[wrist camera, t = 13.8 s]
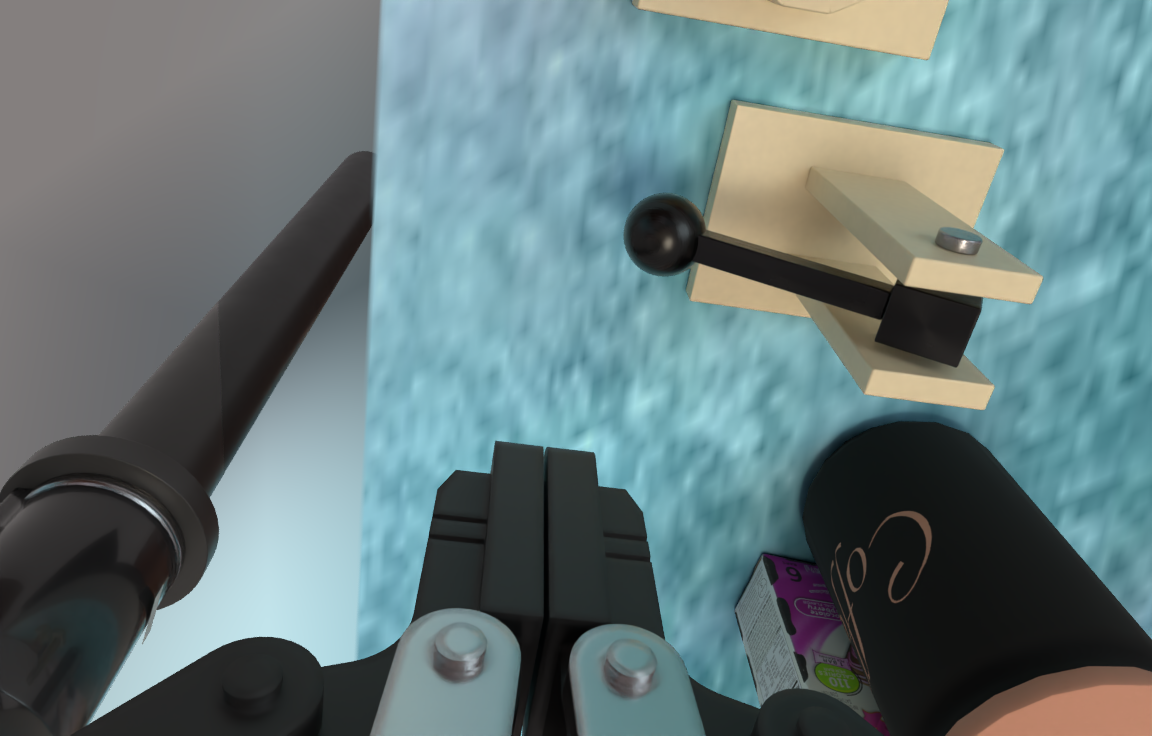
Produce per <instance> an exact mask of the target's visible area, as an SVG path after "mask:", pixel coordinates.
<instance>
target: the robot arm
mask: <svg viewBox="0 0 1152 736" xmlns="http://www.w3.org/2000/svg"><path fill="white" fill-rule="evenodd" d="M184 559H185V542H184V538H183V534H182V532H181V529H180V527H179V525H178V523H177V522H176V520H175V519H174V517H173V516H172V515H171V513H170V512H169V511H168V510H167V509H166V508H165V507H164V505H162V504H161V503H160V502H159V501H158V500H157V499H155V498H154V497H153V496H152V495H150V494H149V493H147V492H146V491H144V490H142V489H140V488H139V487H137V486H135V485H133V484H130V483H128V482H126V481H123V480H120V479H117V478H114V477H110V476H105V475H100V474H91V473H74V474H66V475H61V476H57V477H54V478H51V479H49V480H47V481H45V482H43V483H41V484H39V485H38V486H36V487H35V488H30V489H27V488H15V489H14V490H13V491H12V492H11V493H10V494H9V495H8V496H7V497H6V498H5V499H4V500H3V501H2V502H1V504H0V736H520V735H521V730H522V736H884V735H883V734H882V733H881V732H879V731H878V730H877V729H876V728H875V727H873V726H872V725H871V724H870V723H869V722H867V721H866V720H865V719H864V718H863V717H861V716H860V715H859V714H858V713H856V712H855V711H854V710H853V709H851V708H850V707H849V706H847V705H846V704H844V703H843V702H841V701H839V700H837V699H836V698H833V697H831V696H829V695H827V694H824V693H821V692H818V691H815V690H809V689H801V688H792V689H785V690H782V691H778V692H776V693H774V694H773V695H771V696H770V697H769V698H768V699H766V700H765V702H764V703H763V705H762V706H761V708H760V709H758V708H756V707H753V706H750V705H748V704H745V703H742V702H739V701H737V700H734V699H731V698H729V697H726V696H723V695H721V694H718V693H716V692H714V691H711V690H710V689H708V688H706V687H704V686H702V685H701V684H699V683H698V682H697V681H695V680H694V679H692V678H691V677H690V676H689V675H688V672H687V669H686V667H685V664H684V662H683V660H682V658H681V657H680V655H679V654H678V653H677V651H676V650H675V649H674V648H673V647H672V646H671V645H670V644H669V643H668V642H666V641H665V637H664V631H663V626H662V620H661V614H660V608H659V603H658V597H657V591H656V585H655V580H654V574H653V568H652V563H651V562H650V551H649V545H648V542H647V534H646V528H645V522H644V517H643V512H642V511H641V509H640V508H639V507H638V505H637V504H636V503H635V501H634V500H633V499H632V498H631V496H630V495H629V494H628V492H627V491H626V490H625V489H617V488H609V487H600V486H598V478H597V468H596V458H595V453H594V452H585V451H577V450H569V449H560V448H552V447H546V450H545V454H544V452H543V447H542V446H534V445H526V444H517V443H509V442H501V441H495V446H494V453H493V460H492V467H491V474H487V473H478V472H469V471H461V470H455V471H454V473H453V474H452V475H451V476H450V477H449V478H448V479H447V480H446V481H445V482H444V483H443V484H442V485H441V486H440V487H439V488H438V490H437V495H436V500H435V505H434V511H433V517H432V521H431V526H430V531H429V538H428V542H427V547H426V552H425V557H424V563H423V568H422V573H421V578H420V584H419V589H418V594H417V599H416V604H415V610H414V614H413V618H412V621H411V623H410V625H409V627H408V628H407V629H406V630H405V632H404V633H403V635H402V636H401V637H400V638H399V639H398V640H397V641H396V642H395V643H394V644H392V645H391V646H390V647H388V648H387V649H385V650H383V651H381V652H379V653H377V654H375V655H373V656H370V657H367V658H365V659H361V660H357V661H353V662H347V663H341V664H336V665H330V666H324V667H321V666H320V664H319V662H318V661H317V659H316V658H315V657H314V656H313V655H312V654H311V653H310V652H309V651H308V650H307V649H305V648H304V647H302V646H300V645H299V644H296V643H294V642H292V641H288V640H285V639H281V638H274V637H254V638H247V639H242V640H238V641H234V642H231V643H229V644H226V645H223V646H221V647H220V648H217V649H216V650H214V651H212V652H210V653H208V654H207V655H205V656H203V657H202V658H200V659H198V660H196V661H195V662H193V663H191V664H190V665H188V666H186V667H185V668H183V669H181V670H180V671H178V672H176V673H175V674H173V675H171V676H170V677H168V678H166V679H164V680H163V681H161V682H159V683H158V684H156V685H154V686H153V687H151V688H149V689H148V690H146V691H144V692H142V693H141V694H139V695H137V696H136V697H134V698H132V699H131V700H129V701H127V702H126V703H124V704H122V705H121V706H119V707H117V708H115V709H114V710H112V711H111V712H109V713H107V714H105V715H104V716H102V717H100V718H98V719H97V720H95V721H93V722H92V723H90V722H91V721H92V719H93V717H94V715H95V714H96V712H97V710H98V708H99V707H100V705H101V703H102V702H103V700H104V698H105V696H106V695H107V693H108V691H109V690H110V688H111V686H112V684H113V682H114V681H115V679H116V677H117V676H118V674H119V672H120V670H121V669H122V667H123V665H124V664H125V662H126V660H127V658H128V657H129V655H130V653H131V651H132V650H133V648H134V646H135V645H136V643H137V641H138V640H139V638H140V636H141V634H142V633H143V631H144V629H145V627H146V626H147V624H148V626H147V629H146V633H145V637H144V639H143V642H144V641H145V639H146V637H147V635H148V634H149V632H150V629H151V626H152V623H153V619H154V616H155V612H156V609H157V607H158V605H159V604H160V602H161V600H162V598H164V596H165V595H166V593H167V591H168V590H169V588H170V587H171V586H172V584H173V583H174V581H175V579H176V578H177V576H178V574H179V572H180V571H181V568H182V566H183V563H184ZM142 644H143V643H142ZM522 725H523V729H522Z"/></svg>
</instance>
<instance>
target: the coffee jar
mask: <svg viewBox="0 0 1152 736" xmlns="http://www.w3.org/2000/svg"><path fill="white" fill-rule="evenodd" d="M803 523H804V529H805V535H806V540H807V543H808V545H809V548H810V550H811V552H812V555H813V557H814V559H815V561H816V564H817V566H818V568H819V571H820V573H821V575H822V578H823V580H824V582H825V585H826V587H827V589H828V592H829V594H830V596H831V599H832V601H833V603H834V606H835V608H836V610H837V613H838V615H839V617H840V620H841V622H842V624H843V627H844V629H845V631H846V634H847V636H848V638H849V641H850V643H851V645H852V647H853V650H854V652H855V654H856V657H857V659H858V661H859V664H860V666H861V668H862V671H863V673H864V675H865V678H866V680H867V682H868V685H869V687H870V689H871V692H872V694H873V696H874V699H875V701H876V703H877V706H878V708H879V710H880V713H881V715H882V717H883V720H884V722H885V724H886V726H887V729H888V731H889V733H890V736H1152V639H1151V638H1150V637H1149V636H1148V635H1147V634H1146V632H1145V631H1144V630H1143V629H1142V628H1141V627H1140V625H1139V624H1138V623H1137V622H1136V621H1135V620H1134V618H1133V617H1132V616H1131V615H1130V614H1129V613H1128V611H1127V610H1126V609H1125V608H1124V607H1123V606H1122V605H1121V603H1120V602H1119V601H1118V600H1117V599H1116V598H1115V596H1114V595H1113V594H1112V593H1111V592H1110V591H1109V589H1108V588H1107V587H1106V586H1105V585H1104V584H1103V582H1102V581H1101V580H1100V579H1099V578H1098V577H1097V575H1096V574H1095V573H1094V572H1093V571H1092V570H1091V568H1090V567H1089V566H1088V565H1087V564H1086V563H1085V561H1084V560H1083V559H1082V558H1081V557H1080V556H1079V555H1078V553H1077V552H1076V551H1075V550H1074V549H1073V548H1072V546H1071V545H1070V544H1069V543H1068V542H1067V541H1066V539H1065V538H1064V537H1063V536H1062V535H1061V534H1060V532H1059V531H1058V530H1057V529H1056V528H1055V527H1054V525H1053V524H1052V523H1051V522H1050V521H1049V520H1048V518H1047V517H1046V516H1045V515H1044V514H1043V513H1042V511H1041V510H1040V509H1039V508H1038V507H1037V506H1036V505H1035V503H1034V502H1033V501H1032V500H1031V499H1030V498H1029V496H1028V495H1027V494H1026V493H1025V492H1024V491H1023V489H1022V488H1021V487H1020V486H1019V485H1018V484H1017V482H1016V481H1015V480H1014V479H1013V478H1012V477H1011V475H1010V474H1009V473H1008V472H1007V471H1006V470H1005V468H1004V467H1003V466H1002V465H1001V464H1000V463H999V461H998V460H997V459H996V458H995V457H994V456H993V455H992V453H991V452H990V451H989V450H988V449H987V448H986V447H984V446H983V445H982V444H981V443H980V442H978V441H977V440H976V439H975V438H973V437H972V436H971V435H970V434H969V433H966V432H963V431H960V430H957V429H954V428H951V427H948V426H945V425H943V424H939V423H936V422H900V421H899V422H895V423H891V424H887V425H883V426H878V427H874V428H871V429H869V430H867V431H865V432H863V433H861V434H859V435H857V436H855V437H853V438H852V439H850V440H848V441H846V442H845V443H844V444H843V445H842V446H840V447H839V448H838V449H837V450H836V451H835V452H834V453H833V454H832V455H830V456H829V457H828V458H827V459H826V460H825V462H824V464H823V465H822V467H821V468H820V470H819V472H818V473H817V475H816V477H815V478H814V480H813V482H812V483H811V485H810V487H809V489H808V494H807V498H806V503H805V507H804V512H803Z"/></svg>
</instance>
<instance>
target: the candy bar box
mask: <svg viewBox="0 0 1152 736" xmlns="http://www.w3.org/2000/svg"><path fill="white" fill-rule="evenodd" d="M735 614H736V618H737V623H738V626H739V630H740V633H741V637H742V640H743V644H744V648H745V652H746V655H747V658H748V662H749V666H750V669H751V673H752V677H753V680H754V684H755V688H756V691H757V695H758V699H759V703H760V706H762V705H763V703H764V702H765V700H766V699H768V698H769V697H770V696H771V695H773V694H774V693H776V692H778V691H782V690H785V689H792V688H801V689H809V690H815V691H818V692H821V693H824V694H827V695H829V696H831V697H833V698H836V699H837V700H839V701H841V702H843V703H844V704H846V705H847V706H849V707H850V708H851V709H853V710H854V711H855V712H856V713H858V714H859V715H860V716H861V717H863V718H864V719H865V720H866V721H867V722H869V723H870V724H871V725H872V726H873V727H875V728H876V729H877V730H878V731H879V732H881V733H882V734H883V735H884V736H890V733H889V731H888V729H887V726H886V724H885V722H884V720H883V717H882V715H881V713H880V710H879V708H878V706H877V703H876V701H875V699H874V696H873V694H872V692H871V689H870V687H869V685H868V682H867V680H866V678H865V675H864V673H863V671H862V668H861V666H860V664H859V661H858V659H857V657H856V654H855V652H854V650H853V647H852V645H851V643H850V641H849V638H848V636H847V634H846V631H845V629H844V627H843V624H842V622H841V620H840V617H839V615H838V613H837V610H836V608H835V606H834V603H833V601H832V599H831V596H830V594H829V592H828V589H827V587H826V585H825V582H824V580H823V578H822V575H821V573H820V571H819V568H818V566H817V564H811V563H806V562H802V561H797V560H792V559H788V558H782V557H777V556H773V555H768V554H762V556H761V558H760V559H759V561H758V563H757V564H756V567H755V569H754V572H753V575H752V577H751V579H750V581H749V583H748V585H747V587H746V589H745V590H744V592H743V594H742V596H741V598H740V600H739V602H738V605H737V606H736V608H735Z"/></svg>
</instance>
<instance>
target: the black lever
mask: <svg viewBox="0 0 1152 736" xmlns="http://www.w3.org/2000/svg"><path fill="white" fill-rule="evenodd" d="M624 244H625V248H626V251H627V253H628V255H629V257H630V258H631V260H632V261H633V262H634V263H635V265H637V266H638V267H639V268H640V269H641V270H643V271H645V272H647V273H649V274H652V275H656V276H662V277H664V276H673V275H677V274H680V273H682V272H684V271H686V270H687V269H689V268H690V267H691V266H693V265H694V264H695V263H699V264H702V265H705V266H708V267H711V268H715V269H718V270H721V271H724V272H727V273H731V274H734V275H737V276H740V277H743V278H747V279H750V280H753V281H756V282H759V283H763V284H766V285H769V286H772V287H775V288H779V289H782V290H785V291H788V292H791V293H795V294H798V295H801V296H804V297H807V298H811V299H814V300H817V301H820V302H823V303H826V304H830V305H833V306H836V307H839V308H842V309H846V310H849V311H852V312H855V313H858V314H862V315H865V316H868V317H871V318H874V319H878V320H881V323H880V326H879V329H878V331H877V334H876V337H875V342H877V343H881V344H884V345H887V346H890V347H893V348H896V349H899V350H902V351H905V352H908V353H912V354H915V355H918V356H921V357H924V358H927V359H930V360H933V361H936V362H940V363H943V364H946V365H949V366H952V367H955V368H957V367H958V365H959V363H960V360H961V358H962V356H963V353H964V351H965V348H966V346H967V344H968V341H969V339H970V337H971V334H972V332H973V329H974V327H975V325H976V322H977V320H978V318H979V315H980V313H981V310H982V302H983V297H978V296H971V295H964V294H957V293H951V292H944V291H937V290H930V289H923V288H917V287H910V286H905V285H903V284H902V283H901V282H900V281H899V280H898V279H897V280H896V282H895V285H894V286H893V285H891V284H887V283H884V282H881V281H877V280H874V279H870V278H867V277H864V276H860V275H857V274H854V273H850V272H847V271H844V270H840V269H837V268H833V267H830V266H827V265H823V264H820V263H817V262H813V261H810V260H807V259H803V258H800V257H797V256H793V255H790V254H786V253H783V252H780V251H776V250H773V249H770V248H766V247H763V246H760V245H756V244H753V243H749V242H746V241H743V240H739V239H736V238H733V237H729V236H726V235H723V234H719V233H716V232H713V231H709V230H706V225H705V221H704V218H703V216H702V214H701V212H700V211H699V209H698V208H697V207H696V206H695V205H694V204H693V203H692V202H691V201H689V200H688V199H687V198H685V197H683V196H680V195H677V194H673V193H659V194H654V195H651V196H649V197H647V198H645V199H643V200H642V201H640V202H639V203H638V204H637V205H636V206H635V207H634V208H633V209H632V211H631V212H630V214H629V215H628V217H627V220H626V223H625V226H624Z"/></svg>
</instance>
